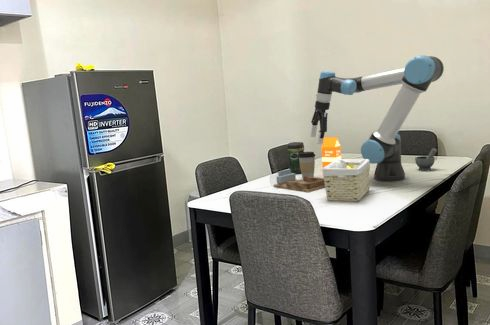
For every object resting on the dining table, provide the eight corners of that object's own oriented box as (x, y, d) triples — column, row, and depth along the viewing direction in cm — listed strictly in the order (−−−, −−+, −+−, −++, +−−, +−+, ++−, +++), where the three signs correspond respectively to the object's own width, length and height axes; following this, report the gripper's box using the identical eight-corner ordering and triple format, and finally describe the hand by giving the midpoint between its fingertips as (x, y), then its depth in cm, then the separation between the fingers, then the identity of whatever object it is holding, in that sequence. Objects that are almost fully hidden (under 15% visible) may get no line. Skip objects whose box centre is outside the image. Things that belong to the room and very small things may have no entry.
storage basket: (360, 202, 176) (358, 167, 174) (322, 201, 184) (320, 167, 182) (372, 190, 197) (370, 158, 195) (337, 189, 205) (336, 158, 202)
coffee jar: (307, 171, 256) (305, 141, 253) (302, 174, 249) (300, 142, 246) (292, 171, 260) (290, 141, 257) (287, 174, 253) (285, 143, 251)
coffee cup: (316, 181, 225) (314, 153, 223) (298, 182, 227) (296, 154, 225) (317, 178, 235) (315, 151, 232) (300, 178, 237) (298, 152, 234)
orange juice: (336, 172, 247) (334, 137, 244) (322, 171, 253) (320, 138, 250) (341, 169, 253) (340, 136, 250) (328, 169, 259) (326, 136, 256)
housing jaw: (295, 180, 226) (295, 168, 225) (280, 183, 219) (280, 172, 218) (291, 179, 229) (290, 168, 228) (276, 183, 222) (276, 171, 221)
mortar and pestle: (413, 171, 231) (412, 149, 230) (417, 168, 239) (416, 147, 237) (435, 171, 225) (435, 149, 223) (439, 168, 233) (438, 147, 231)
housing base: (330, 186, 212) (329, 178, 211) (308, 192, 202) (308, 184, 201) (295, 181, 230) (294, 174, 230) (273, 187, 220) (273, 180, 220)
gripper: (309, 96, 233) (303, 133, 239) (323, 105, 209) (316, 146, 216) (322, 97, 234) (316, 134, 241) (337, 106, 211) (330, 147, 217)
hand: (316, 140), depth 228 cm, fingers open, 13 cm apart
